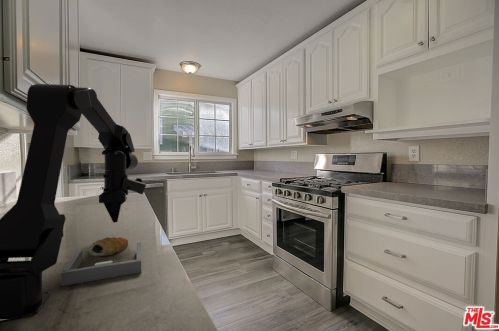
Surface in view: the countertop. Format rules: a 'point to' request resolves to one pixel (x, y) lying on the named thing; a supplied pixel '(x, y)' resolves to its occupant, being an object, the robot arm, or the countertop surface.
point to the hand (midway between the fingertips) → (115, 222)
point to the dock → (98, 269)
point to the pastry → (108, 246)
